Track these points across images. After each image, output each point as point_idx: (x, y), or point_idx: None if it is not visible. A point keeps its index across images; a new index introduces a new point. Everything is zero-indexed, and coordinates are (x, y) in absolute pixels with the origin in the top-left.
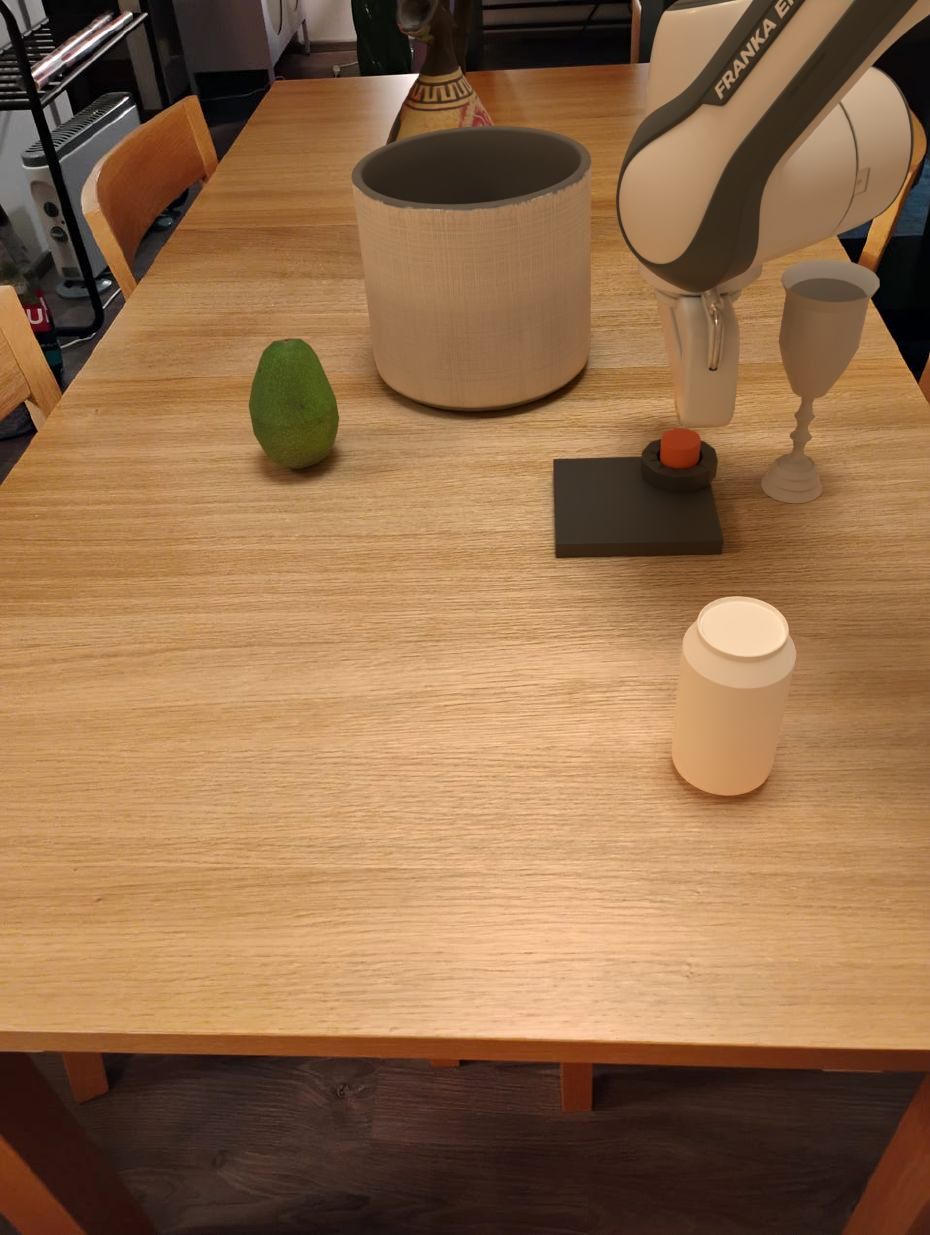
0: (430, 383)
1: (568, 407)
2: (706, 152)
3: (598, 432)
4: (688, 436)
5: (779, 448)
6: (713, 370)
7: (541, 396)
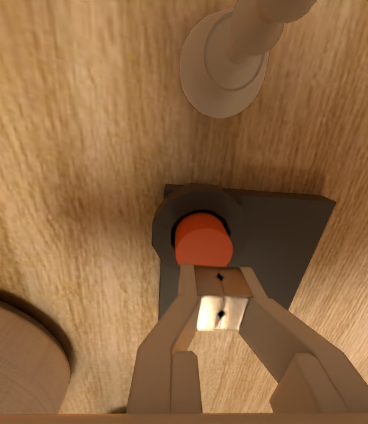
0: None
1: (41, 294)
2: None
3: (89, 274)
4: (200, 243)
5: (121, 56)
6: (345, 413)
7: (37, 326)
